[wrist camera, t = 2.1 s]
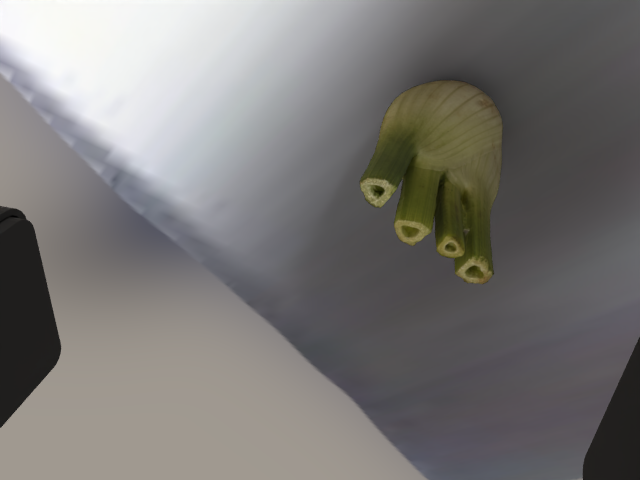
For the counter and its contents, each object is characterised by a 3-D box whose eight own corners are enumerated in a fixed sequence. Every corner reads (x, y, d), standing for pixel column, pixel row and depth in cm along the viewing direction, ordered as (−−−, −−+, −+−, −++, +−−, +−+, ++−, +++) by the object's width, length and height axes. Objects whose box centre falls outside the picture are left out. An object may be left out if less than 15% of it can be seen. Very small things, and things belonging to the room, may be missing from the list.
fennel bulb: (385, 84, 30) (335, 189, 20) (480, 45, 28) (477, 140, 18) (426, 181, 32) (400, 319, 22) (517, 152, 30) (532, 288, 20)
